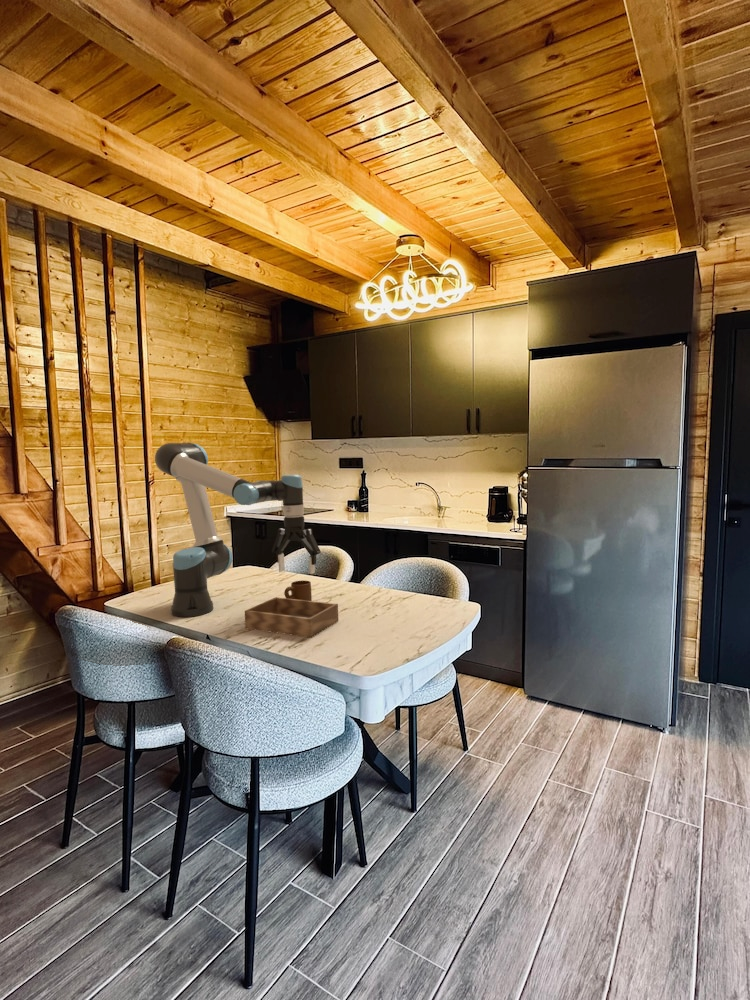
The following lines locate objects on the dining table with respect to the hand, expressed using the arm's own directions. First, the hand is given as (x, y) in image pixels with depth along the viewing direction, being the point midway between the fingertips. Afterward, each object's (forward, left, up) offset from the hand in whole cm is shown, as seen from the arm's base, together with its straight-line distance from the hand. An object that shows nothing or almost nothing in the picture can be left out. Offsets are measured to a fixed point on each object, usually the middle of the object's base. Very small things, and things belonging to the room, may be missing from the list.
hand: (296, 572), depth 203 cm
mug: (0, 0, -14) cm, 14 cm away
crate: (+9, -17, -14) cm, 24 cm away
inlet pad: (+9, -17, -14) cm, 24 cm away
